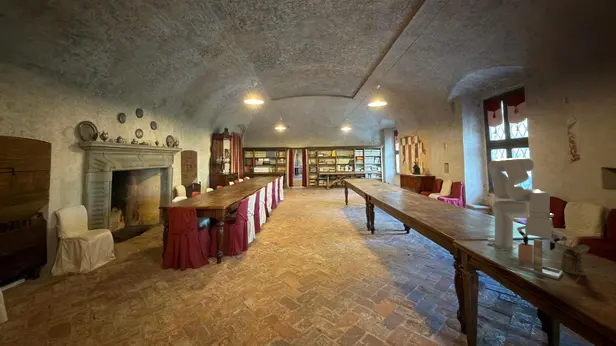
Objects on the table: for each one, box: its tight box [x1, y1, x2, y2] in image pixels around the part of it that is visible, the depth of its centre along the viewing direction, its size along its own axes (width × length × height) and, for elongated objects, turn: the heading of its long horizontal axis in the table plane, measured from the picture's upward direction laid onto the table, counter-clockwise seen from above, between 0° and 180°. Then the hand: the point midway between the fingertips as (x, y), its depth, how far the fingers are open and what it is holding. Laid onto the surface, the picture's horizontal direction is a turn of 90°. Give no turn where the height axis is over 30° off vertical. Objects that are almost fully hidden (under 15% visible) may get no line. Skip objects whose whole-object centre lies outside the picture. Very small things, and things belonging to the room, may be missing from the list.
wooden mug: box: [558, 243, 591, 277], centre depth 117 cm, size 9×14×18 cm, turn 154°
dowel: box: [533, 238, 543, 271], centre depth 120 cm, size 3×3×16 cm
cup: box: [517, 242, 534, 263], centre depth 132 cm, size 6×6×10 cm
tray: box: [514, 260, 564, 280], centre depth 121 cm, size 16×10×2 cm, turn 33°
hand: (538, 246), depth 120 cm, fingers open, 9 cm apart
